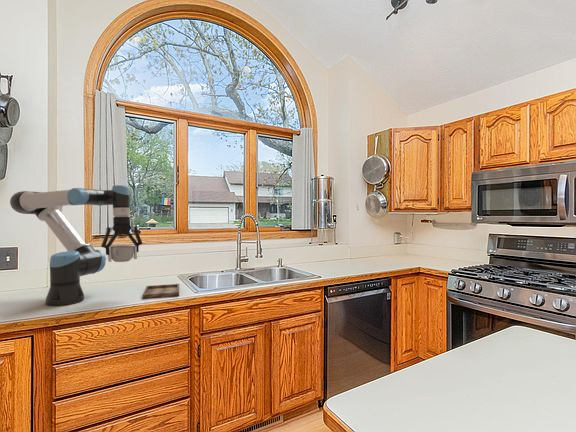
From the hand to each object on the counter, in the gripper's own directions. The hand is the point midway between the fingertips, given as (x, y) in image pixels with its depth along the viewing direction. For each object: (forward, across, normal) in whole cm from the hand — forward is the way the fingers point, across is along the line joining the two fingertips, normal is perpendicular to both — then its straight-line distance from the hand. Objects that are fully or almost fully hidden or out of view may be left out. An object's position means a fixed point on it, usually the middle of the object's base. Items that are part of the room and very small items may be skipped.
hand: (122, 260), depth 163 cm
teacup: (+1, -1, 0) cm, 2 cm away
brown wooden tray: (+19, +18, -4) cm, 26 cm away
